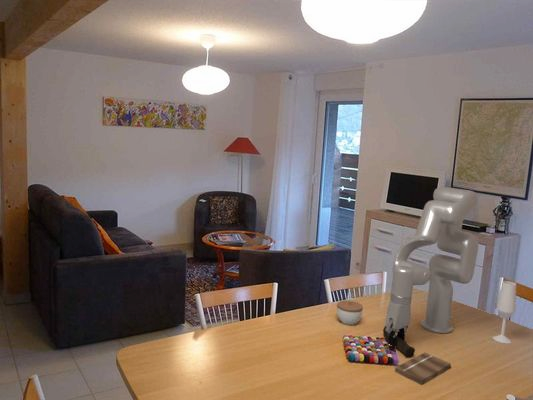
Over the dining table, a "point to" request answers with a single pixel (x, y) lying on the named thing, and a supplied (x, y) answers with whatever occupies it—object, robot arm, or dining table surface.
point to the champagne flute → (506, 307)
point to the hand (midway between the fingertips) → (396, 343)
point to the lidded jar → (349, 312)
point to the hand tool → (401, 345)
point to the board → (422, 368)
